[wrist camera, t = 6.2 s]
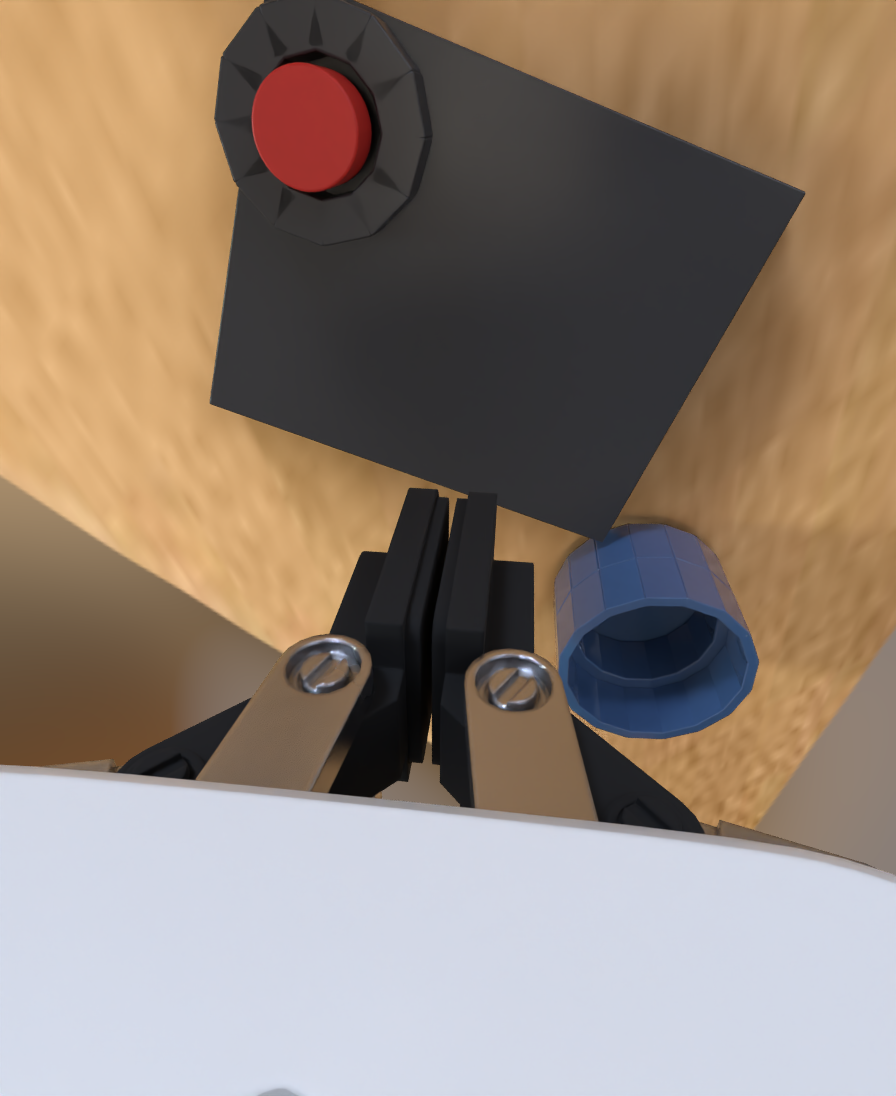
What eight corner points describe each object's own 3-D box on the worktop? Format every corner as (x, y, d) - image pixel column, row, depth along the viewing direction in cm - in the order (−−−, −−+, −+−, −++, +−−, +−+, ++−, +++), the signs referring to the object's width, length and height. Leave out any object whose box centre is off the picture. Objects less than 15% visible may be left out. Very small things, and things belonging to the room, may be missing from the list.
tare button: (383, 90, 17) (370, 88, 16) (358, 201, 19) (344, 209, 18) (282, 48, 17) (259, 42, 16) (264, 165, 19) (242, 169, 17)
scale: (785, 186, 20) (828, 197, 17) (598, 518, 27) (606, 566, 25) (278, -28, 19) (232, -55, 16) (219, 383, 26) (180, 417, 23)
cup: (753, 549, 28) (799, 637, 23) (667, 664, 31) (691, 758, 27) (596, 492, 27) (611, 571, 22) (528, 617, 31) (528, 706, 26)
